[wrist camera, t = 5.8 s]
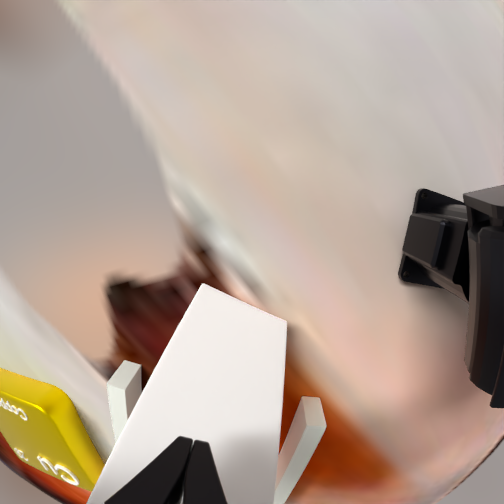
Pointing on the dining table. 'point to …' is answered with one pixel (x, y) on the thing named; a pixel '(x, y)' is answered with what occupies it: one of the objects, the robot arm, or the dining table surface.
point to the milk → (211, 399)
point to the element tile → (47, 430)
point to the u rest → (293, 450)
